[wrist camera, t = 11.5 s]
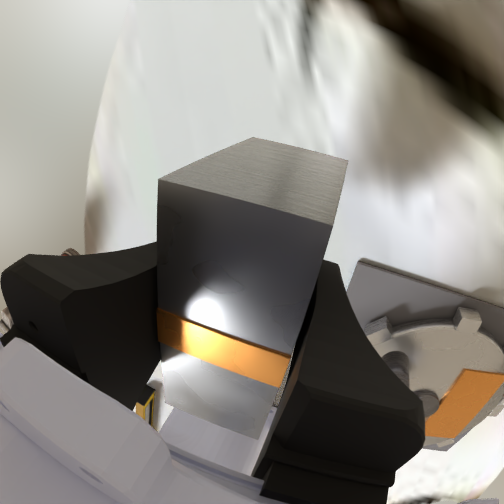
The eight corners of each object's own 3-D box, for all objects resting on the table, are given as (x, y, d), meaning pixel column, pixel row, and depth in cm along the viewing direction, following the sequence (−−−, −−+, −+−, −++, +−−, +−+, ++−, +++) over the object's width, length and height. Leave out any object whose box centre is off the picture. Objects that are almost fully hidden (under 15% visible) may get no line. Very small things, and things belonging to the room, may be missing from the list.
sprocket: (370, 455, 27) (365, 489, 24) (277, 360, 24) (261, 400, 21) (524, 402, 18) (532, 438, 15) (489, 262, 15) (511, 302, 12)
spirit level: (151, 464, 52) (144, 475, 50) (145, 461, 52) (138, 471, 50) (156, 387, 34) (143, 405, 32) (146, 382, 35) (134, 399, 32)
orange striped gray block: (227, 307, 15) (163, 403, 10) (252, 137, 11) (156, 179, 6) (298, 331, 15) (257, 441, 10) (348, 160, 11) (333, 227, 5)
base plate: (291, 415, 28) (290, 419, 28) (357, 261, 19) (357, 264, 19) (445, 449, 25) (446, 452, 24) (556, 326, 15) (557, 330, 15)
